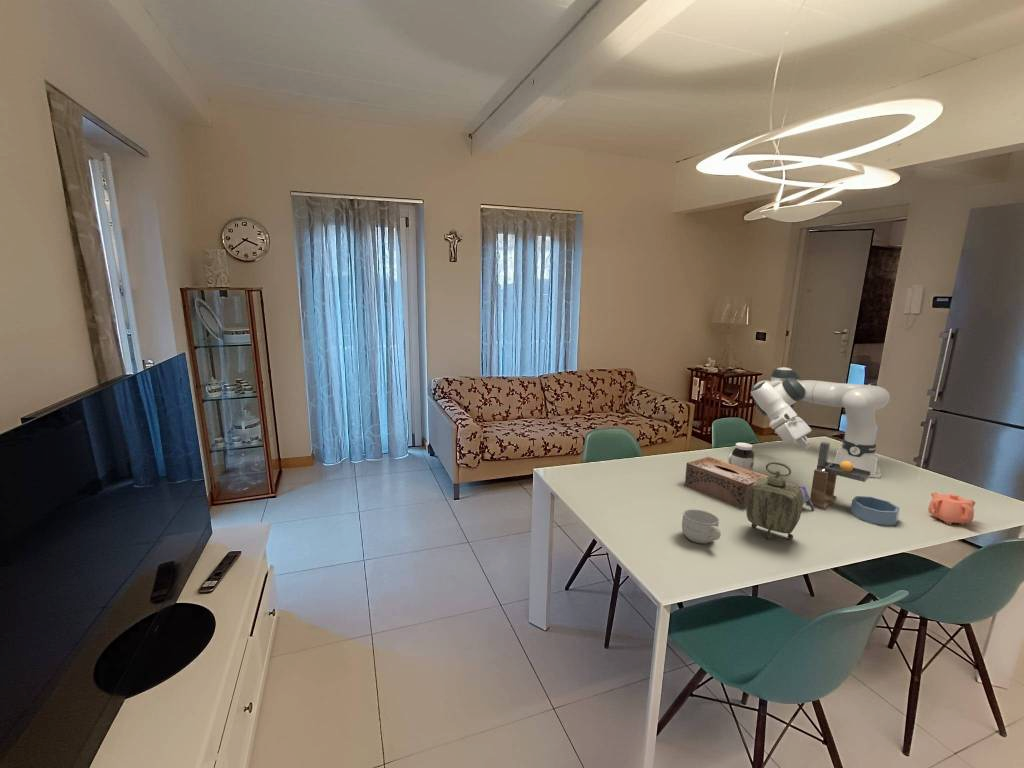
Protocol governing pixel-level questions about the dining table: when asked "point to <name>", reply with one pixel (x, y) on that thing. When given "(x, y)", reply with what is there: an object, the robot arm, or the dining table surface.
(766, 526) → the tabletop clock
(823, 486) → the stand
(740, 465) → the spread jar
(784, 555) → the dining table surface
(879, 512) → the blue octagonal bowl
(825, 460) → the lever
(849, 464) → the ball
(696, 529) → the teacup
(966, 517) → the teapot
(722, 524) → the dining table surface
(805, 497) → the flower
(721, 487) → the tissue box cover
